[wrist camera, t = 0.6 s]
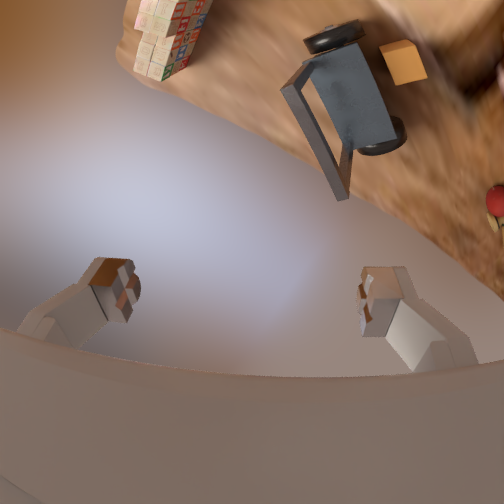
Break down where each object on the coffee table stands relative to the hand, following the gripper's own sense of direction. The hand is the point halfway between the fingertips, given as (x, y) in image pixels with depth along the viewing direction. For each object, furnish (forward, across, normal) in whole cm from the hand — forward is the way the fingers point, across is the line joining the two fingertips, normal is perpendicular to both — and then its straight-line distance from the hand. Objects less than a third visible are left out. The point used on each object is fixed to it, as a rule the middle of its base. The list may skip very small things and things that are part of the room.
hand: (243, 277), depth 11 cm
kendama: (+41, -48, +17) cm, 65 cm away
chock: (+42, -20, -9) cm, 47 cm away
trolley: (+44, -14, -4) cm, 46 cm away
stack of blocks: (+49, +15, -16) cm, 53 cm away
